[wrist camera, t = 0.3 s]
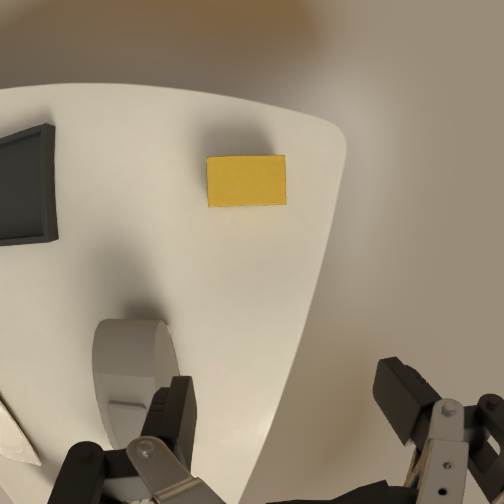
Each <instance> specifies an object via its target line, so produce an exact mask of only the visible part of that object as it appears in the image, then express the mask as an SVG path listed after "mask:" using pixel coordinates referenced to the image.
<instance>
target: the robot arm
mask: <svg viewBox="0 0 504 504" xmlns="http://www.w3.org/2000/svg"><path fill="white" fill-rule="evenodd" d="M373 396H374V399H375V401H376V402H377V404H378V405H379V407H380V409H381V410H382V412H383V413H384V415H385V416H386V418H387V420H388V421H389V423H390V424H391V426H392V428H393V429H394V431H395V432H396V434H397V435H398V437H399V439H400V440H401V442H402V443H403V445H404V446H408V445H411V444H415V445H416V448H415V450H414V453H413V457H412V460H411V464H410V468H409V471H408V474H407V477H406V481H405V483H404V486H388V484H387V482H386V480H383V481H379V482H376V483H372V484H369V485H366V486H362V487H358V488H357V489H354V490H352V491H350V492H348V493H346V494H344V495H342V496H339V497H337V498H335V499H332V500H291V501H282V502H272V503H266V504H462V502H463V496H464V489H465V482H466V473H467V468H468V469H469V471H470V472H471V474H472V475H473V477H474V479H475V480H476V482H477V484H478V485H479V487H480V488H481V490H482V492H483V493H484V495H485V496H486V498H487V500H488V501H489V503H490V504H504V400H503V399H502V398H501V397H500V396H498V395H495V394H485V395H483V396H481V397H480V399H479V401H478V403H477V405H474V406H465V407H463V406H462V404H460V403H459V402H458V401H456V400H453V399H442V398H441V397H440V396H439V394H438V393H437V392H436V391H435V390H434V389H433V388H432V387H431V386H430V385H429V384H428V383H426V380H425V379H424V378H422V377H421V375H420V374H419V373H418V372H417V371H416V370H415V369H413V368H412V367H410V366H408V365H404V364H403V363H402V362H401V361H400V360H399V359H398V358H397V357H390V358H386V359H381V360H379V362H378V365H377V370H376V375H375V380H374V384H373ZM196 420H197V405H196V399H195V393H194V387H193V381H192V377H191V376H173V377H172V381H171V384H170V387H161V388H160V389H159V390H158V391H157V392H156V393H155V394H154V395H153V398H152V401H151V404H150V407H149V411H148V413H147V416H146V419H145V422H144V425H143V428H142V431H141V434H140V437H138V438H136V439H134V440H132V441H131V442H130V443H129V444H128V446H127V448H124V449H119V450H109V451H103V449H102V448H101V446H100V445H98V444H97V443H94V442H90V441H83V442H79V443H77V444H75V445H73V446H72V447H71V448H70V449H69V451H68V453H67V456H66V458H65V460H64V463H63V465H62V467H61V470H60V472H59V475H58V477H57V480H56V482H55V485H54V487H53V490H52V492H51V495H50V498H49V500H48V503H47V504H127V501H134V500H143V499H151V500H152V502H153V503H154V504H226V503H225V502H224V501H223V500H222V499H221V498H220V497H219V496H218V495H217V494H216V493H215V492H214V491H213V490H212V489H211V488H210V487H209V486H208V485H207V484H206V483H205V482H204V481H203V480H202V479H200V478H198V477H197V478H194V477H193V476H192V475H191V474H190V469H191V460H192V452H193V443H194V435H195V427H196ZM490 435H492V436H493V438H494V439H495V440H496V441H497V442H498V444H499V446H500V454H499V456H498V454H497V453H496V452H495V450H494V449H493V448H492V446H491V445H490V444H489V443H488V441H487V440H488V438H489V437H490Z"/></svg>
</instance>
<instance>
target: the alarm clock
mask: <svg viewBox="0 0 504 504" xmlns="http://www.w3.org/2000/svg"><path fill="white" fill-rule="evenodd" d="M92 365H93V379H94V386H95V393H96V399H97V403H98V407H99V411H100V415H101V419H102V422H103V425H104V428H105V430H106V433H107V435H108V438H109V440H110V443H111V445H112V447H113V449H114V450H119V449H124V448H127V446H128V444H129V443H130V442H131V441H132V440H134V439H136V438H138V437H140V434H141V431H142V428H143V425H144V422H145V419H146V416H147V413H148V411H149V407H150V404H151V401H152V398H153V395H154V394H155V393H156V392H157V391H158V390H159V389H160V388H161V387H170V384H171V381H172V377H173V376H180V374H179V369H178V364H177V360H176V355H175V350H174V347H173V343H172V339H171V336H170V329H169V325H166V324H165V323H164V322H163V321H162V320H123V319H106V320H103V321H100V322H99V325H98V327H97V329H96V331H95V335H94V342H93V348H92ZM190 473H191V469H190Z"/></svg>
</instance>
